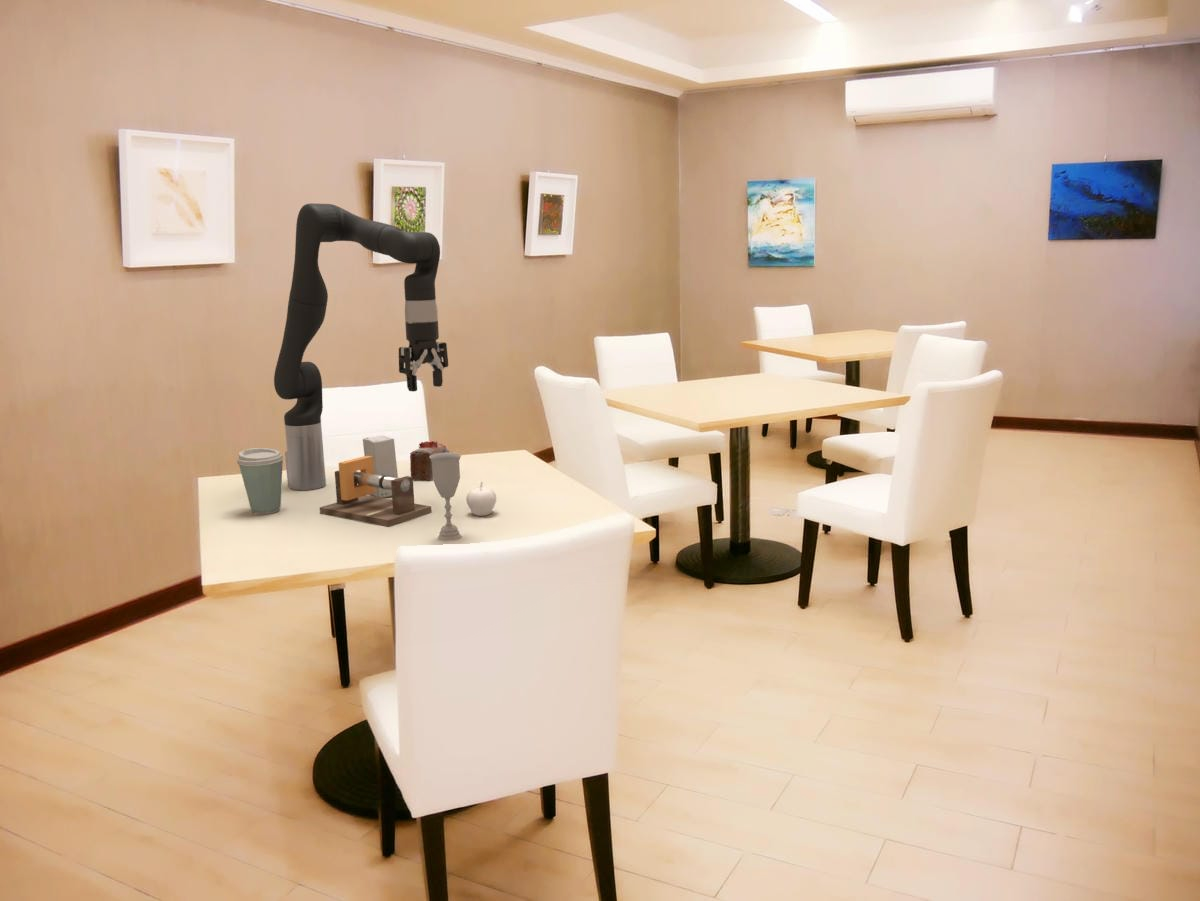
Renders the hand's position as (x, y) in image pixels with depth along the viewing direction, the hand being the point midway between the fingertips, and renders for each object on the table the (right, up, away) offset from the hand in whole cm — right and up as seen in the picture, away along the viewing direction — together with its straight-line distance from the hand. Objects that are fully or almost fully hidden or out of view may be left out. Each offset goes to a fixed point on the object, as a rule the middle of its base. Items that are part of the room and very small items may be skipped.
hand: (425, 388), depth 228 cm
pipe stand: (-12, -30, +3) cm, 32 cm away
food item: (-6, -22, +41) cm, 47 cm away
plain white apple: (+13, -30, 0) cm, 33 cm away
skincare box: (-15, -26, +20) cm, 36 cm away
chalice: (+9, -34, -18) cm, 39 cm away
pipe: (-12, -23, +1) cm, 26 cm away
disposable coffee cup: (-40, -30, +6) cm, 50 cm away
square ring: (-17, -26, +5) cm, 31 cm away
